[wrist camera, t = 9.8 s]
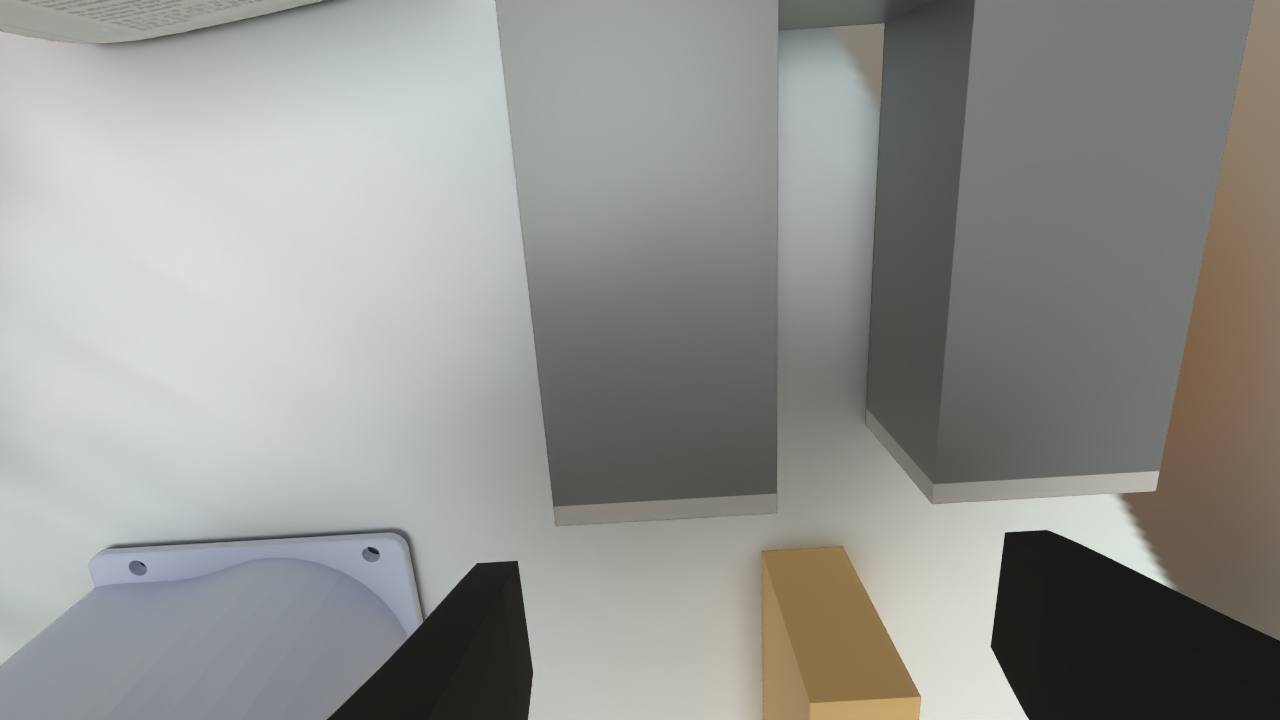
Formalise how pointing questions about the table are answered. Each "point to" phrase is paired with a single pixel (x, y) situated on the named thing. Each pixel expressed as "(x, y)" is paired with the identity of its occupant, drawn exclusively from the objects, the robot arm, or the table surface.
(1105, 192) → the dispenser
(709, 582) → the table surface
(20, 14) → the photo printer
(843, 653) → the tan rectangular block
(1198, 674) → the robot arm
